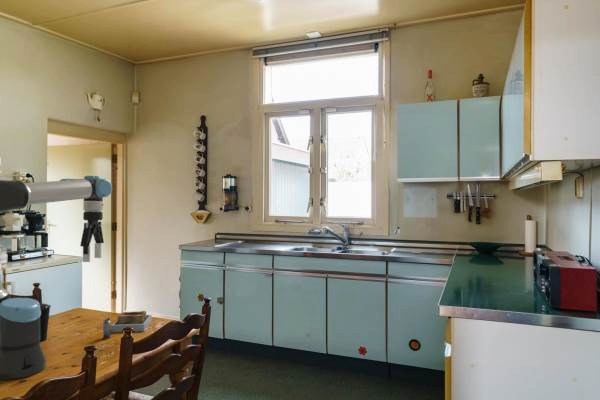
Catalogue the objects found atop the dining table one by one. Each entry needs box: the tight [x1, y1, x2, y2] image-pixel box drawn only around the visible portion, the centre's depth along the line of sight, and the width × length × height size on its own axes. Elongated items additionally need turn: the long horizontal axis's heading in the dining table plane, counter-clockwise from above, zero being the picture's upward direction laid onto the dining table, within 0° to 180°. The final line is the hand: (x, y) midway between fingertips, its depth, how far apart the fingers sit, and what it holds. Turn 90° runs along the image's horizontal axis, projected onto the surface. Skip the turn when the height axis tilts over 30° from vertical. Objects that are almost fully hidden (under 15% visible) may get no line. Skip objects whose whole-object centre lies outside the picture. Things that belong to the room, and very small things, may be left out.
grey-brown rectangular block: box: [117, 310, 147, 325], centre depth 190 cm, size 10×7×6 cm
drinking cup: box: [38, 290, 52, 343], centre depth 170 cm, size 8×8×20 cm
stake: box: [102, 316, 112, 340], centre depth 174 cm, size 4×3×8 cm
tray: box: [111, 314, 153, 333], centre depth 190 cm, size 16×14×3 cm
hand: (92, 259), depth 183 cm, fingers open, 13 cm apart
